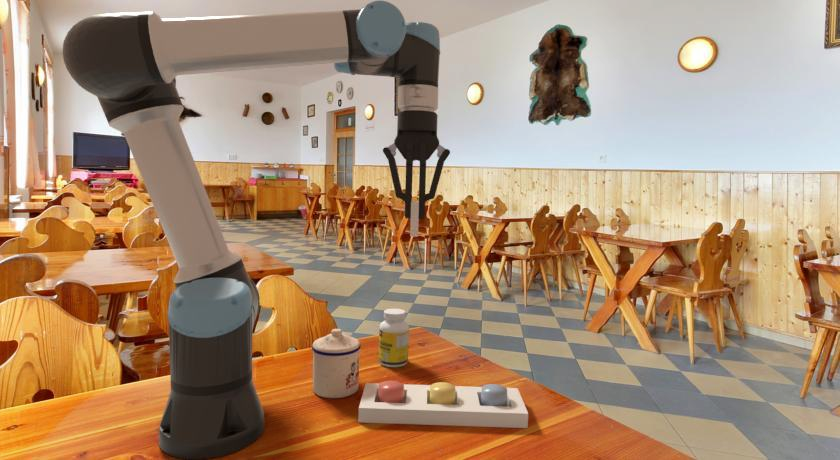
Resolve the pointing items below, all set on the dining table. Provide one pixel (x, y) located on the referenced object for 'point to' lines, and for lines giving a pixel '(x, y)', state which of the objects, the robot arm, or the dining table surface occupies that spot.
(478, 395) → the panel
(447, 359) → the dining table surface
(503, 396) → the blue button
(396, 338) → the pill bottle
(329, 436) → the dining table surface
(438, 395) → the mustard button
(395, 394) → the red button
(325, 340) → the teacup with lid
